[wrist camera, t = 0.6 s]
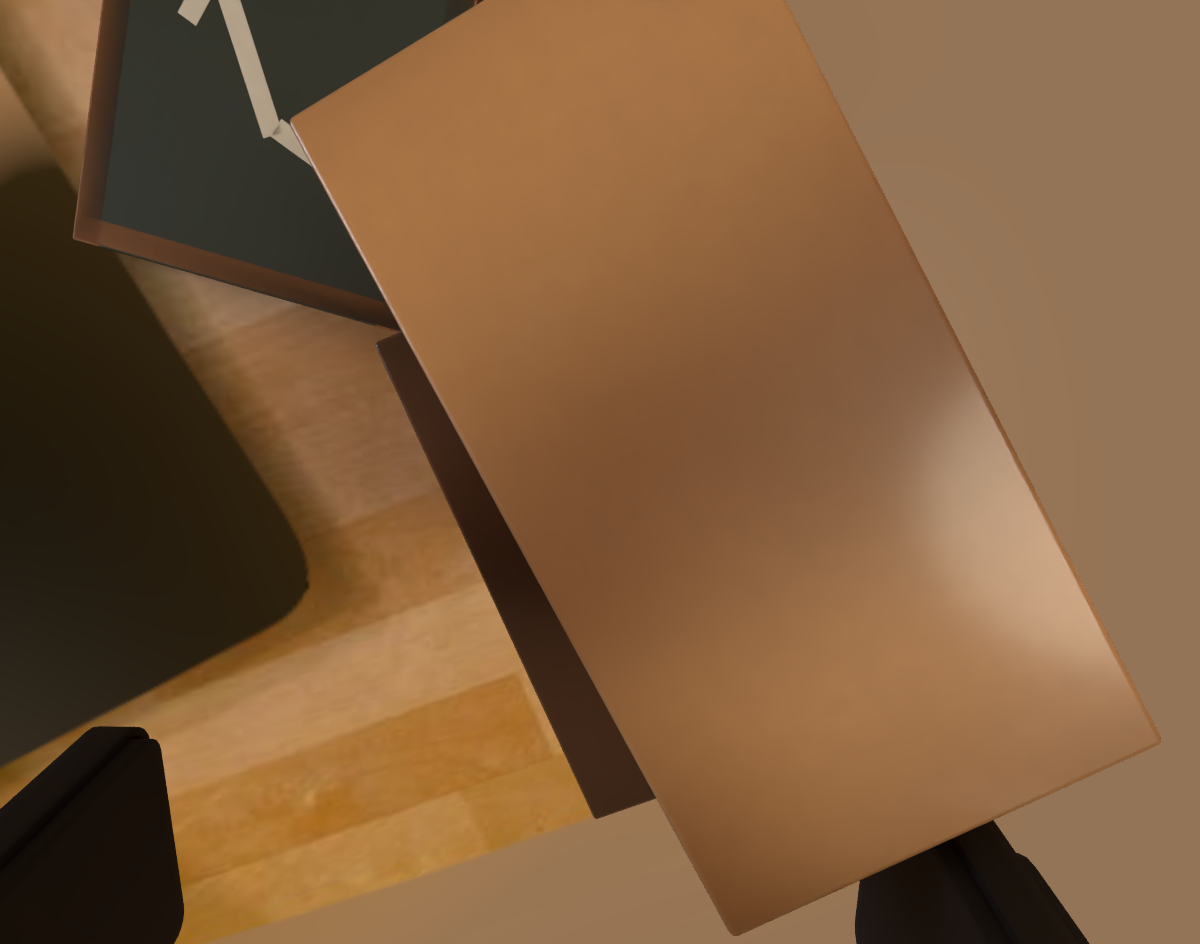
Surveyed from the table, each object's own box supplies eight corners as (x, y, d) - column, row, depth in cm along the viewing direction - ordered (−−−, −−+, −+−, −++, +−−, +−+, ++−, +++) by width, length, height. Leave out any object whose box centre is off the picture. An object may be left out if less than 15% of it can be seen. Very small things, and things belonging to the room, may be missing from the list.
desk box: (511, 308, 30) (372, 343, 12) (687, 235, 29) (810, 159, 11) (601, 522, 31) (594, 821, 14) (768, 458, 31) (980, 687, 13)
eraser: (423, 225, 12) (283, 118, 7) (691, 70, 11) (714, -145, 7) (703, 745, 12) (732, 941, 8) (973, 614, 12) (1168, 745, 7)
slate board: (153, -219, 26) (132, -244, 25) (509, -105, 26) (504, -124, 25) (93, 240, 29) (71, 238, 28) (410, 332, 30) (402, 334, 29)
